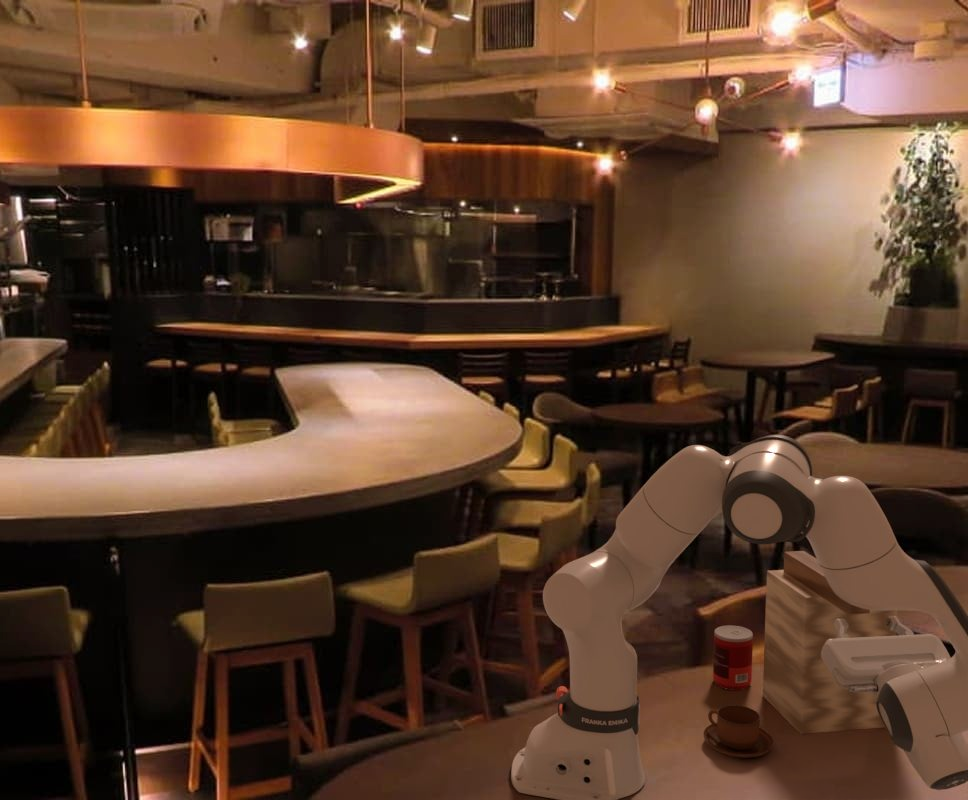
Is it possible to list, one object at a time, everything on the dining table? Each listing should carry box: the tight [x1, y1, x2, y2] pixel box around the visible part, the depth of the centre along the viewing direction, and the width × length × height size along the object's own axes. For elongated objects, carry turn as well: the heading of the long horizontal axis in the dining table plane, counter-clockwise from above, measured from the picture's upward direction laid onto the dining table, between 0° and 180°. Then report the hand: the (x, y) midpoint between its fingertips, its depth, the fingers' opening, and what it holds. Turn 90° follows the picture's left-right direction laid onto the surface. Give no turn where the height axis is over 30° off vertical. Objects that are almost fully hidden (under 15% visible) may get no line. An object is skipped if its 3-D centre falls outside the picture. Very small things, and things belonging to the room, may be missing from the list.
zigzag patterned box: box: [762, 569, 899, 735], centre depth 177 cm, size 18×16×27 cm
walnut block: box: [783, 550, 870, 614], centre depth 169 cm, size 4×24×4 cm, turn 8°
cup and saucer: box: [703, 704, 774, 759], centre depth 164 cm, size 12×12×6 cm
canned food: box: [712, 624, 754, 691], centre depth 190 cm, size 8×8×11 cm
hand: (864, 619), depth 157 cm, fingers open, 8 cm apart
